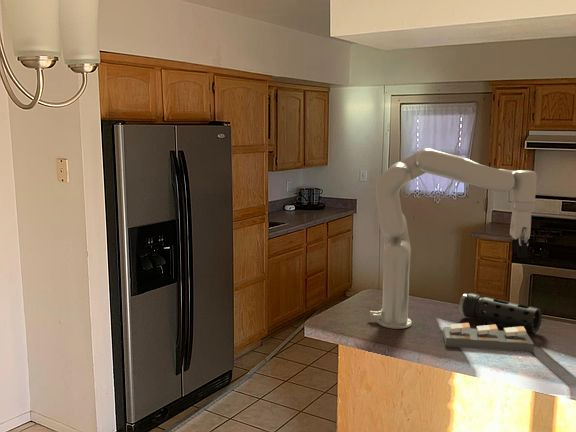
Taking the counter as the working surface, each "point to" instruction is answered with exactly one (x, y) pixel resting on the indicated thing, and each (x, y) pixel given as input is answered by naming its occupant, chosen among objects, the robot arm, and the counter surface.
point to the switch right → (515, 331)
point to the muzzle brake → (500, 312)
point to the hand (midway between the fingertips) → (519, 254)
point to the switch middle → (487, 329)
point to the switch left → (460, 327)
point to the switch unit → (488, 340)
